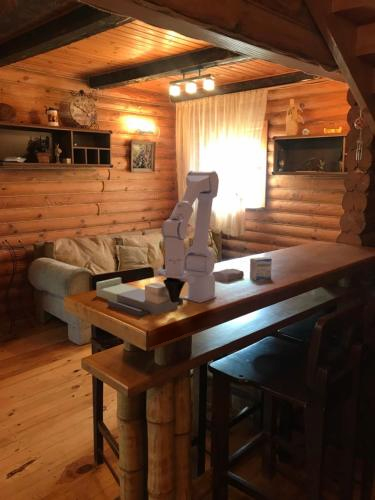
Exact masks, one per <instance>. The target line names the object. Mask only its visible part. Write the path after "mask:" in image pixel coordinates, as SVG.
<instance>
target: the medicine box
mask: <svg viewBox="0 0 375 500" xmlns="http://www.w3.org/2000/svg"><path fill="white" fill-rule="evenodd" d="M272 260H273V259H272V258H271V257H266V256H264V257H262V256H261V257H253V258H250V259H249V279H250V280H253V281H263V280H270V279H271V278H272V265H273V264H272V263H273V262H272Z"/></svg>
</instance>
